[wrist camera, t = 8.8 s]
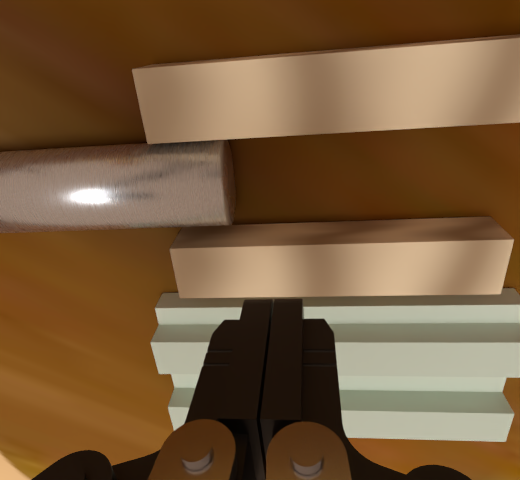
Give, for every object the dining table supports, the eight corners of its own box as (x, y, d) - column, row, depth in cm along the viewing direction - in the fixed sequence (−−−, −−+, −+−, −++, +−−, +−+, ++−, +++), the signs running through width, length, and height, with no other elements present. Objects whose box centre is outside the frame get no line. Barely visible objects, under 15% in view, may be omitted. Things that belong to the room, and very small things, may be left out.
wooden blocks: (528, 33, 16) (564, 34, 14) (479, 267, 21) (500, 294, 19) (152, 64, 18) (131, 69, 16) (191, 272, 23) (179, 298, 21)
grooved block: (513, 287, 22) (543, 323, 19) (480, 412, 26) (501, 454, 24) (162, 292, 24) (145, 325, 21) (189, 406, 29) (178, 444, 26)
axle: (231, 134, 20) (215, 144, 16) (238, 211, 21) (225, 237, 17) (-59, 151, 21) (-135, 164, 18) (-35, 222, 23) (-101, 247, 19)
